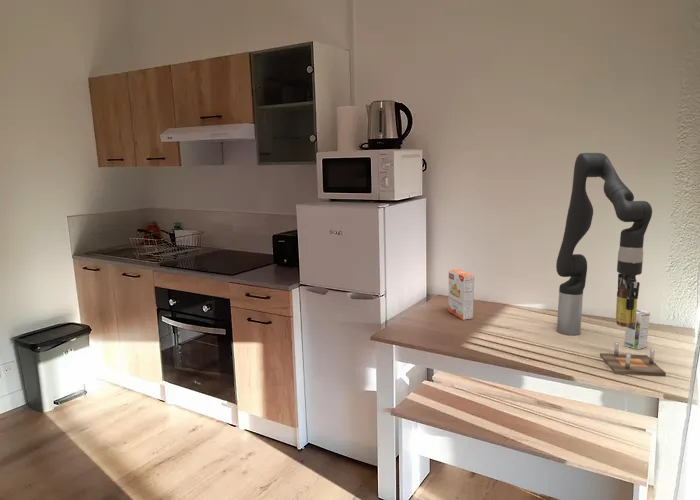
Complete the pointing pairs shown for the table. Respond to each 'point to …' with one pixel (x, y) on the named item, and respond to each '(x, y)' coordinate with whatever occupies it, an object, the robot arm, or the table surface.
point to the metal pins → (628, 356)
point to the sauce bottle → (624, 307)
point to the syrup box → (638, 331)
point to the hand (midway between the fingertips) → (626, 306)
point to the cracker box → (461, 294)
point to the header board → (632, 365)
